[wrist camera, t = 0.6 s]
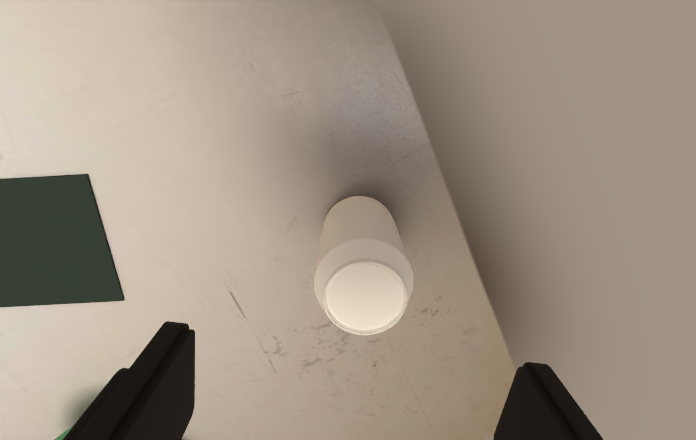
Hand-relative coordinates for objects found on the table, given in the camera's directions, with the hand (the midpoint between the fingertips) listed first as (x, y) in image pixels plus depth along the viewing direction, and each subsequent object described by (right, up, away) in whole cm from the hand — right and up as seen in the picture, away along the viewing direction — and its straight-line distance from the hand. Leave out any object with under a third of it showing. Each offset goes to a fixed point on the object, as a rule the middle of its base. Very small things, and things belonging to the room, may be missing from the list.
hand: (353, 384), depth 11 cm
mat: (-31, +2, +23) cm, 39 cm away
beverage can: (+1, +4, +22) cm, 23 cm away
